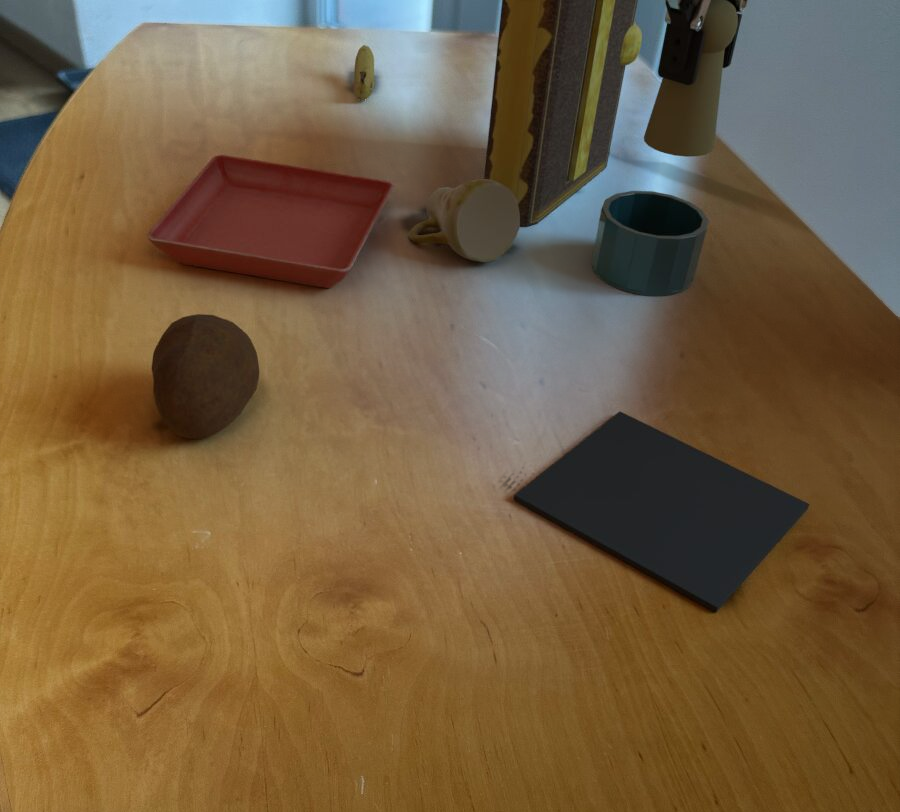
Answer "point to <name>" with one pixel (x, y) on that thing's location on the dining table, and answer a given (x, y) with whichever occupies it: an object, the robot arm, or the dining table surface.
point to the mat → (664, 508)
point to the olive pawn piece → (694, 93)
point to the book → (556, 96)
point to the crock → (648, 242)
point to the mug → (472, 219)
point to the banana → (364, 73)
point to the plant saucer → (271, 220)
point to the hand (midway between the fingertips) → (694, 69)
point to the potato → (203, 374)
